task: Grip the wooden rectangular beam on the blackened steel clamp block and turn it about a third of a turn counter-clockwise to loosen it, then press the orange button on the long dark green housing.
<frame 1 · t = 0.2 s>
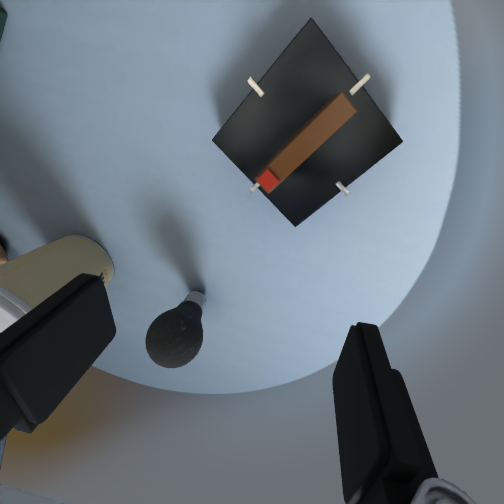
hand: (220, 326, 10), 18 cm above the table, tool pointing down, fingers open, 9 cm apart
coffee cup: (87, 260, 34), on the table
light bulb: (199, 293, 33), on the table
clamp block: (302, 136, 22), on the table
wooden rectangular beam: (301, 144, 18), point 5 cm above the table, hinge at 0.0°
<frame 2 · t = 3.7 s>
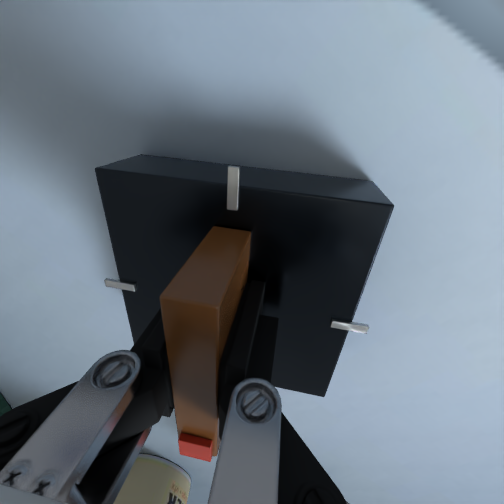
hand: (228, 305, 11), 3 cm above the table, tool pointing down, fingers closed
coffee cup: (159, 469, 29), on the table
clamp block: (243, 265, 13), on the table
wooden rectangular beam: (213, 343, 9), point 5 cm above the table, hinge at 0.0°, touching gripper
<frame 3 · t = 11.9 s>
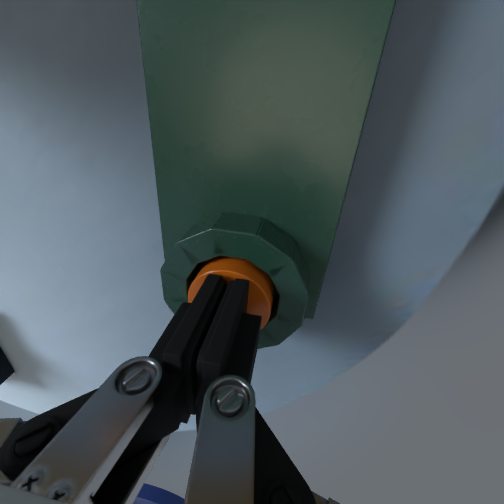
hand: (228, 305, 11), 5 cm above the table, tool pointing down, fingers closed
button box: (259, 116, 11), on the table
button: (232, 293, 12), point 4 cm above the table, slide at -0.7 cm, touching gripper
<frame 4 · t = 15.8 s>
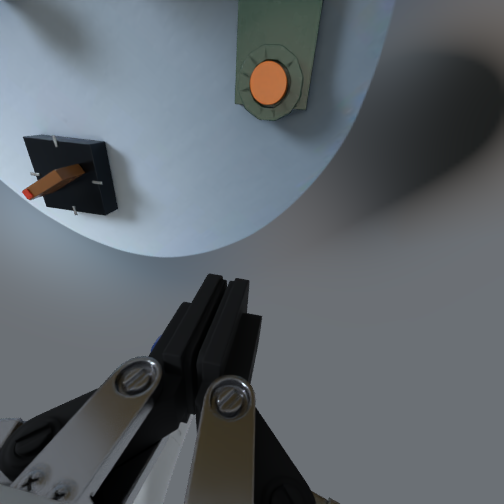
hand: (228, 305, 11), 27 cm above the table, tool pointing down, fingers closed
button box: (281, 5, 26), on the table
button: (269, 84, 26), point 4 cm above the table, slide at 0.1 cm
clamp block: (81, 173, 40), on the table
wooden rectangular beam: (53, 182, 35), point 5 cm above the table, hinge at 119.8°
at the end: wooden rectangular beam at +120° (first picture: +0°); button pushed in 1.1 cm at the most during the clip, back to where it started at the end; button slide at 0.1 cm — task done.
